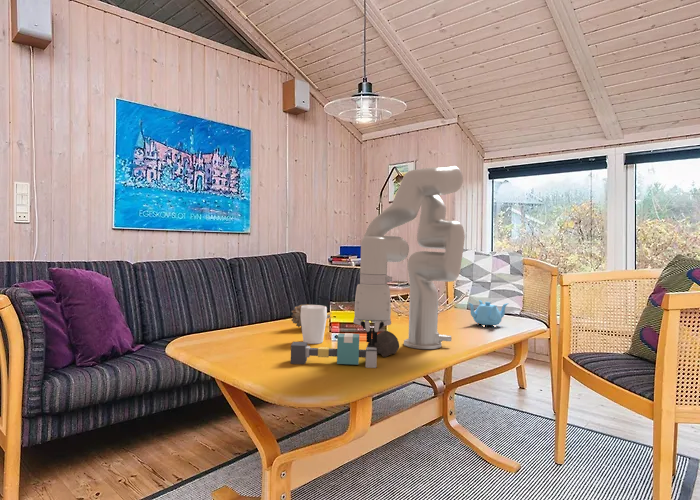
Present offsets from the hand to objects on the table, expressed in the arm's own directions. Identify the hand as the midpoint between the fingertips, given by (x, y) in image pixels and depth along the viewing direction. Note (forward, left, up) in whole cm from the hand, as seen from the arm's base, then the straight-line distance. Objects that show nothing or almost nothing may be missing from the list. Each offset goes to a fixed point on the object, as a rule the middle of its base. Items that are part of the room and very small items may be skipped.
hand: (371, 344), depth 133 cm
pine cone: (+22, -50, -6) cm, 55 cm away
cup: (+20, -26, -6) cm, 33 cm away
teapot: (-49, -67, -6) cm, 84 cm away
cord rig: (+11, 0, -6) cm, 12 cm away
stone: (-4, -13, -6) cm, 15 cm away
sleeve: (+7, 0, -6) cm, 9 cm away
